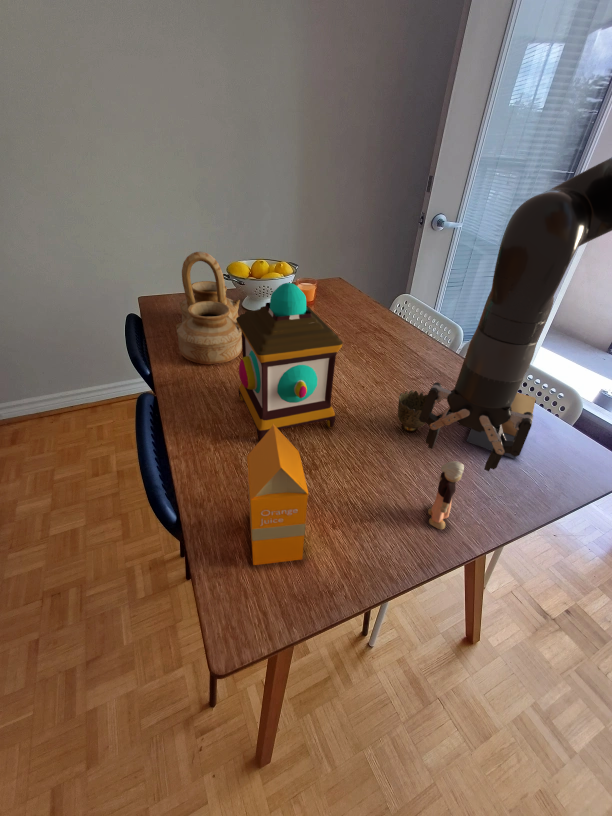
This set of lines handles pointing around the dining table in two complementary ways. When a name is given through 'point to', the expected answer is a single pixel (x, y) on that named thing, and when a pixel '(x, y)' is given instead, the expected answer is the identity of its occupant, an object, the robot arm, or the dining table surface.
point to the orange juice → (276, 500)
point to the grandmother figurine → (445, 493)
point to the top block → (519, 410)
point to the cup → (411, 410)
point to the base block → (486, 440)
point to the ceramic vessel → (208, 317)
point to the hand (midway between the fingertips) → (458, 456)
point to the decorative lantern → (287, 363)
